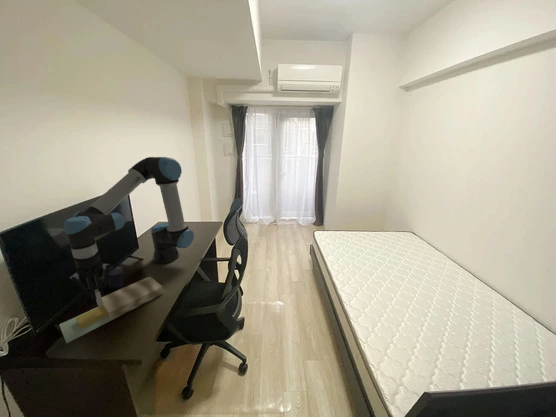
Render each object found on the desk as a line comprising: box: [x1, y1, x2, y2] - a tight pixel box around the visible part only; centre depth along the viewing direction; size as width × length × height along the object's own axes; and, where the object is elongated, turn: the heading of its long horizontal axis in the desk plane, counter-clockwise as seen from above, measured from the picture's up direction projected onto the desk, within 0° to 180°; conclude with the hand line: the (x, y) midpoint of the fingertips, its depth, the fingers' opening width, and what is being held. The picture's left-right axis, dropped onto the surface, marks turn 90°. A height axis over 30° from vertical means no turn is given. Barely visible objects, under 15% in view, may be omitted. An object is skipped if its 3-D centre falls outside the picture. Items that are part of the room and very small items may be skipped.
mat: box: [58, 305, 112, 344], centre depth 91 cm, size 14×14×1 cm
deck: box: [101, 276, 165, 321], centre depth 104 cm, size 22×14×4 cm, turn 142°
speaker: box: [107, 265, 124, 290], centre depth 113 cm, size 8×6×10 cm
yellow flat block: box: [76, 306, 108, 329], centre depth 93 cm, size 9×6×2 cm, turn 142°
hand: (100, 303), depth 94 cm, fingers closed
